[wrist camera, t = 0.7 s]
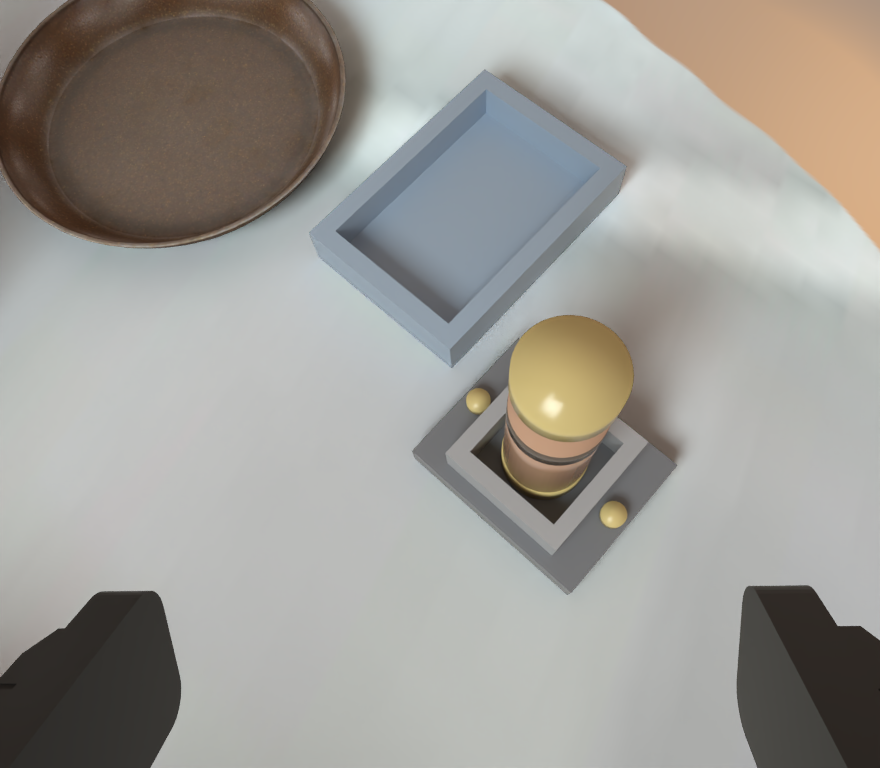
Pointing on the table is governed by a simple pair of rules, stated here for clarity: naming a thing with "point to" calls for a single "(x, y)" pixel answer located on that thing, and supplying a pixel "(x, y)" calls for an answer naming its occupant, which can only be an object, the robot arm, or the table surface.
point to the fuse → (561, 402)
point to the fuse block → (533, 520)
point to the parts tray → (468, 215)
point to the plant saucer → (168, 115)
